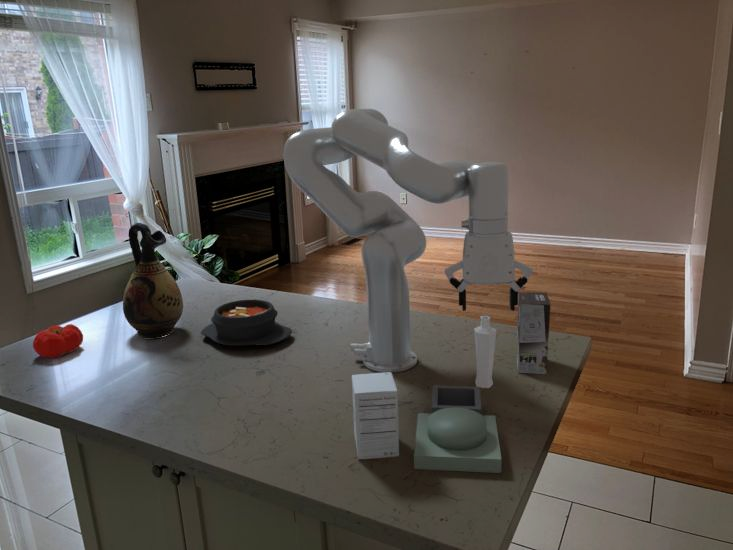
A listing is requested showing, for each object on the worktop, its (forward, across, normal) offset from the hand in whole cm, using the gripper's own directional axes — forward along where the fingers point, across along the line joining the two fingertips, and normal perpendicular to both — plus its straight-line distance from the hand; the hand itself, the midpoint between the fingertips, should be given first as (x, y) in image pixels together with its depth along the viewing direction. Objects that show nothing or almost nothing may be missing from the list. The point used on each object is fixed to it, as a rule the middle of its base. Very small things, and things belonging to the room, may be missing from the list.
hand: (487, 308), depth 122 cm
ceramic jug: (+15, -88, +26) cm, 93 cm away
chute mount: (+17, -7, -20) cm, 27 cm away
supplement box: (+17, -21, -26) cm, 37 cm away
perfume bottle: (+17, -1, 0) cm, 17 cm away
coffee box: (+17, +10, +10) cm, 23 cm away
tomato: (+15, -106, +11) cm, 107 cm away
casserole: (+16, -61, +23) cm, 67 cm away
